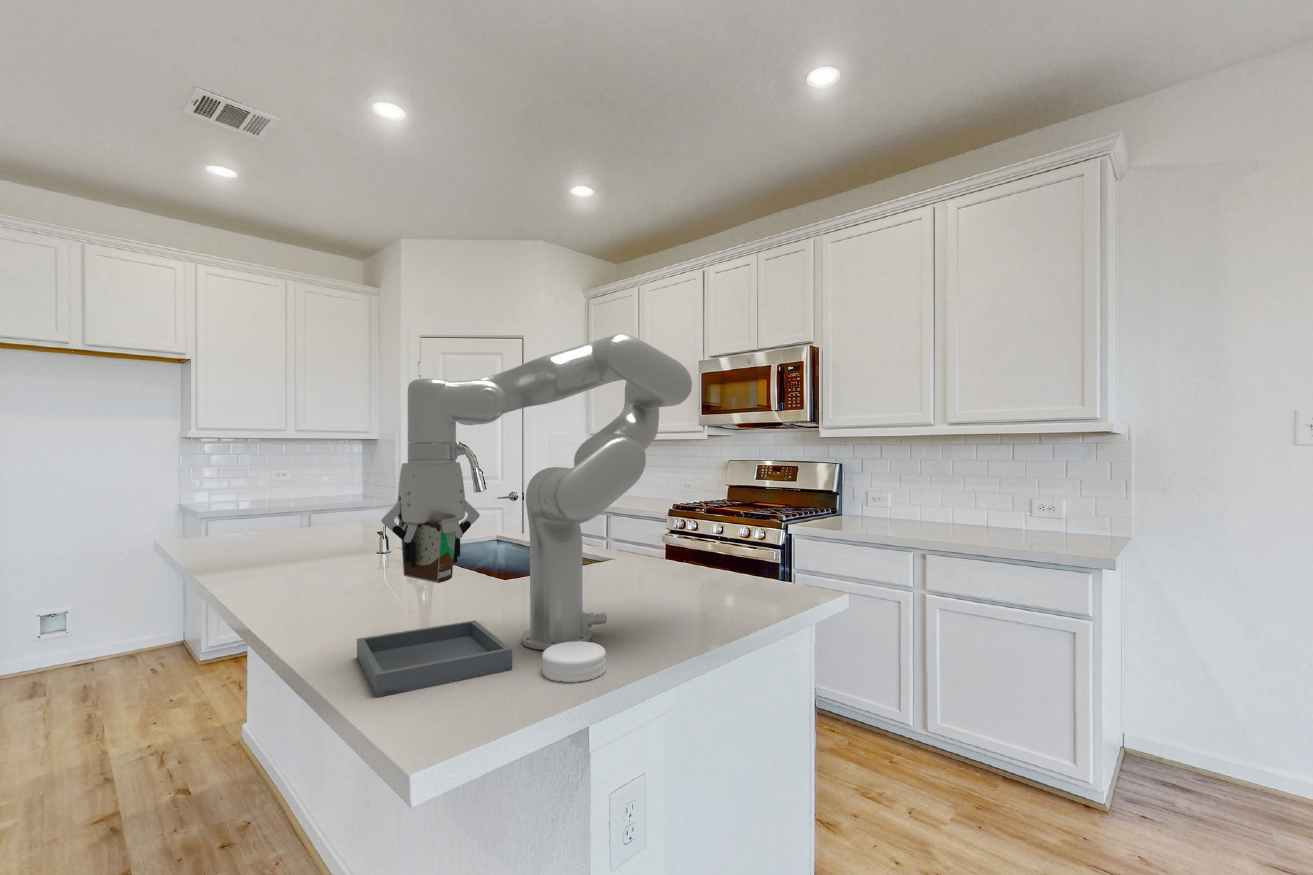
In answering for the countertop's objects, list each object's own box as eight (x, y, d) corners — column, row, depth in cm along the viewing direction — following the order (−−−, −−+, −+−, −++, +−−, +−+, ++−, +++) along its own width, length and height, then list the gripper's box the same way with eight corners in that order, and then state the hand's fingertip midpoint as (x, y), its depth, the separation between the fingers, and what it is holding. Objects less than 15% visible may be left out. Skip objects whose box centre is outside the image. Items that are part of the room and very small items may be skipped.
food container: (476, 577, 102) (475, 516, 102) (443, 584, 97) (443, 520, 97) (430, 568, 110) (430, 511, 110) (398, 574, 105) (398, 515, 105)
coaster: (575, 657, 106) (575, 636, 106) (618, 670, 100) (618, 648, 100) (528, 674, 98) (528, 651, 98) (572, 689, 92) (572, 665, 92)
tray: (475, 637, 116) (475, 620, 116) (512, 669, 100) (512, 649, 100) (356, 657, 106) (356, 638, 106) (376, 697, 89) (376, 674, 89)
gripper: (477, 453, 111) (477, 555, 111) (371, 454, 101) (371, 566, 101) (490, 453, 105) (491, 561, 104) (379, 455, 95) (379, 573, 95)
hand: (432, 562), depth 103 cm, fingers closed on food container, 6 cm apart
